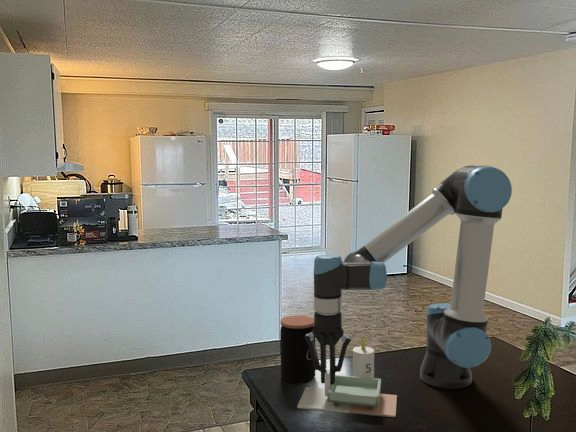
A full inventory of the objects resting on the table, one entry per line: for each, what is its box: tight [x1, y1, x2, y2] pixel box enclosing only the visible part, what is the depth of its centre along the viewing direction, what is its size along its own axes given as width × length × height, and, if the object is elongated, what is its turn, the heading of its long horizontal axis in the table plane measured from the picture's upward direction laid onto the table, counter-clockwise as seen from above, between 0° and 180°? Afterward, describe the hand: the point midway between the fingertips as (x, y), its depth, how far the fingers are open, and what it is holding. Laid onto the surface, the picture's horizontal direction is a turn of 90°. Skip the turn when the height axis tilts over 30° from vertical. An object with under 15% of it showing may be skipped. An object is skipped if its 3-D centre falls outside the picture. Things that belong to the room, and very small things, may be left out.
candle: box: [352, 334, 375, 378], centre depth 161 cm, size 6×6×15 cm
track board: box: [297, 386, 398, 418], centre depth 149 cm, size 26×13×1 cm, turn 77°
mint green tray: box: [327, 374, 382, 410], centre depth 149 cm, size 13×12×4 cm
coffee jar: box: [280, 315, 316, 384], centre depth 166 cm, size 11×11×18 cm
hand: (328, 394), depth 150 cm, fingers closed
